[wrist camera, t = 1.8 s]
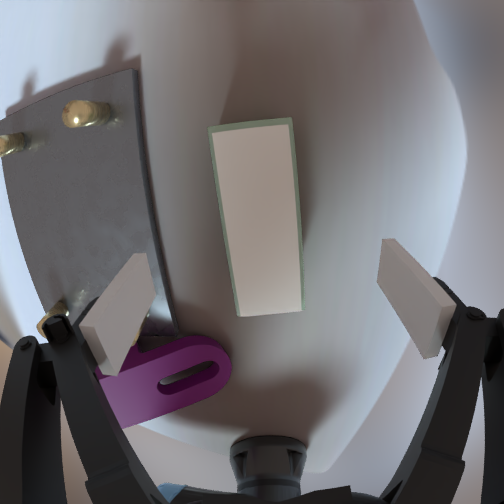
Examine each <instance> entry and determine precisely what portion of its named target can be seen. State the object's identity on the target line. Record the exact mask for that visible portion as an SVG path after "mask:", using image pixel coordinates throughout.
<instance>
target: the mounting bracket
mask: <svg viewBox="0 0 504 504" xmlns="http://www.w3.org/2000/svg"><path fill="white" fill-rule="evenodd" d="M205 361H214V362H213V364H212V365H211V367H209V368H208V369H206V370H203V371H201V372H198V373H196V374H194V375H191V376H189V377H186V378H184V379H181V380H179V381H176V382H174V383H171V384H168V385H163V384H160V382H159V381H160V380H161V379H163V378H165V377H168V376H170V375H173V374H175V373H178V372H180V371H183V370H185V369H188V368H190V367H193V366H195V365H197V364H200V363H202V362H205ZM231 370H232V366H231V361H230V359H229V357H228V355H227V354H226V352H225V351H224V349H223V348H222V346H221V345H220V344H219V343H218V342H217V341H215V340H214V339H212V338H209V337H206V336H196V335H195V336H187V337H183V338H180V339H178V340H175V341H173V342H170V343H168V344H165V345H163V346H160V347H158V348H155V349H152V350H150V351H147V352H145V353H142V351H141V349H140V347H139V345H138V344H137V342H136V343H135V345H134V346H131V347H130V349H129V351H128V353H127V355H126V358H125V360H124V362H123V364H122V366H121V369H120V371H119V373H118V375H117V376H112V375H104V374H102V372H101V370H100V368H99V366H98V365H97V367H96V369H95V373H96V375H97V377H98V379H99V381H100V384H101V386H102V388H103V391H104V393H105V395H106V397H107V400H108V402H109V404H110V406H111V408H112V410H113V412H114V414H115V416H116V418H117V420H118V422H119V424H120V426H121V428H122V429H123V428H126V427H130V426H133V425H136V424H139V423H142V422H145V421H148V420H151V419H154V418H156V417H159V416H162V415H165V414H167V413H170V412H173V411H175V410H178V409H181V408H183V407H186V406H188V405H191V404H193V403H196V402H198V401H201V400H203V399H206V398H208V397H210V396H212V395H214V394H215V393H217V392H218V391H219V390H221V389H222V388H223V387H224V385H225V384H226V383H227V381H228V380H229V377H230V375H231Z"/></svg>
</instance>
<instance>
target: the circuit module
mask: <svg viewBox="0 0 504 504" xmlns="http://www.w3.org/2000/svg"><path fill="white" fill-rule="evenodd" d="M207 130H208V138H209V145H210V152H211V158H212V165H213V172H214V179H215V185H216V192H217V198H218V205H219V211H220V217H221V224H222V230H223V236H224V242H225V248H226V254H227V260H228V266H229V272H230V277H231V283H232V289H233V295H234V300H235V306H236V311H237V316H241V317H246V316H257V315H268V314H278V313H288V312H297V311H302V310H305V292H304V267H303V246H302V229H301V214H300V199H299V187H298V174H297V163H296V152H295V142H294V132H293V123H292V117H288V118H276V119H265V120H255V121H246V122H238V123H231V124H224V125H217V126H210V127H207Z"/></svg>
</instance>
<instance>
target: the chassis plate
mask: <svg viewBox="0 0 504 504" xmlns="http://www.w3.org/2000/svg"><path fill="white" fill-rule="evenodd" d="M0 157H1V159H2V166H3V172H4V178H5V184H6V189H7V194H8V199H9V204H10V208H11V212H12V216H13V220H14V224H15V228H16V232H17V235H18V239H19V242H20V245H21V249H22V252H23V255H24V258H25V261H26V264H27V267H28V270H29V273H30V275H31V278H32V281H33V284H34V286H35V289H36V291H37V294H38V296H39V299H40V301H41V304H42V306H43V308H44V311H45V313H46V315H45V316H44V317H43V318H42V319H41V321H40V322H39V323H38V324H37V330H38V332H39V333H40V334H41V335H42V336H43V337H44V338H46V336H45V334H44V332H43V330H42V328H41V327H42V324H43V323H44V321H45V320H46V319H48V318H49V317H51V316H53V315H56V314H65V315H67V317H68V319H69V321H70V323H71V326H72V325H73V324H74V322H75V321H76V320H77V318H78V317H79V315H81V313H82V311H83V310H85V308H86V306H87V305H88V304H89V302H91V301H92V300H93V299H95V298H96V297H100V296H101V295H102V293H103V292H104V291H105V289H106V288H107V287H108V285H109V284H110V283H111V282H112V280H113V279H114V278H115V276H116V275H117V274H118V273H119V271H120V270H121V269H122V268H123V266H124V265H125V264H126V263H127V261H128V260H129V259H130V258H131V256H132V255H133V254H135V253H146V255H147V260H148V264H149V268H150V272H151V276H152V280H153V284H154V288H155V292H156V296H155V298H154V300H153V302H152V304H151V306H150V308H149V310H148V312H147V314H146V316H145V318H144V320H143V322H142V324H141V326H140V328H139V330H138V332H137V334H136V336H135V338H134V341H133V343H132V345H131V346H134V345H135V343H136V341H137V339H138V337H139V336H177V333H178V330H179V328H178V324H177V320H176V316H175V312H174V308H173V304H172V300H171V296H170V291H169V287H168V283H167V278H166V274H165V269H164V264H163V260H162V255H161V250H160V245H159V240H158V234H157V229H156V224H155V218H154V212H153V206H152V200H151V194H150V187H149V181H148V174H147V166H146V159H145V151H144V142H143V133H142V123H141V113H140V101H139V86H138V71H137V70H135V69H132V68H131V69H128V70H124V71H120V72H117V73H113V74H110V75H107V76H104V77H100V78H97V79H94V80H91V81H88V82H85V83H83V84H80V85H77V86H74V87H72V88H69V89H67V90H64V91H61V92H59V93H57V94H54V95H52V96H49V97H47V98H45V99H43V100H40V101H38V102H36V103H34V104H32V105H30V106H27V107H25V108H23V109H21V110H19V111H17V112H15V113H13V114H12V115H10V116H8V117H6V118H4V119H2V120H0Z"/></svg>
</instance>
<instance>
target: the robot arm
mask: <svg viewBox="0 0 504 504" xmlns="http://www.w3.org/2000/svg"><path fill="white" fill-rule="evenodd" d="M377 283H378V285H379V286H380V288H381V289H382V291H383V293H384V294H385V296H386V297H387V299H388V300H389V302H390V303H391V305H392V307H393V308H394V310H395V311H396V313H397V315H398V316H399V318H400V320H401V321H402V323H403V324H404V326H405V328H406V329H407V331H408V333H409V335H410V336H411V338H412V340H413V341H414V343H415V345H416V346H417V348H418V350H419V352H420V354H421V355H422V357H423V359H427V358H431V357H435V356H438V354H439V351H440V349H441V346H443V348H444V349H445V350H446V352H445V354H444V357H443V359H442V361H441V363H440V366H439V368H438V370H439V372H438V376H437V379H436V382H435V384H434V387H433V391H432V393H431V396H430V398H429V401H428V404H427V406H426V409H425V411H424V414H423V416H422V419H421V421H420V424H419V426H418V428H417V430H416V432H415V435H414V437H413V439H412V441H411V443H410V446H409V447H408V450H407V452H406V454H405V456H404V458H403V460H402V461H401V464H400V465H399V467H398V469H397V471H396V473H395V475H394V476H393V478H392V480H391V481H390V483H389V484H388V486H387V487H386V488H385V490H384V491H383V493H382V494H381V496H380V497H379V498H378V497H375V496H372V495H368V494H364V493H357V492H351V489H350V486H344V487H338V488H332V489H325V490H317V491H313V492H310V493H307V494H304V495H301V490H300V480H301V476H302V473H303V469H304V466H305V462H306V457H307V456H306V448H305V445H304V444H303V443H302V442H300V441H298V440H296V439H292V438H288V437H281V436H262V437H254V438H249V439H246V440H243V441H240V442H238V443H236V444H235V445H233V446H232V448H231V449H230V463H231V466H232V469H233V472H234V475H235V478H236V481H237V484H238V485H237V488H238V489H237V493H230V492H222V491H214V490H207V489H201V488H195V487H190V486H187V485H177V484H172V483H163V484H160V485H159V486H158V487H156V485H155V484H154V483H153V481H152V479H151V478H150V477H149V475H148V473H147V472H146V470H145V468H144V467H143V465H142V464H141V462H140V460H139V459H138V457H137V455H136V453H135V452H134V450H133V448H132V447H131V445H130V443H129V441H128V439H127V437H126V436H125V434H124V432H123V430H122V428H121V426H120V424H119V422H118V420H117V418H116V416H115V414H114V412H113V410H112V408H111V406H110V404H109V402H108V400H107V397H106V395H105V393H104V391H103V388H102V386H101V384H100V381H99V379H98V377H97V375H96V373H95V369H96V367H97V365H98V366H99V368H100V370H101V372H102V374H104V375H112V376H117V375H118V373H119V371H120V369H121V366H122V364H123V362H124V360H125V358H126V355H127V353H128V351H129V349H130V347H131V345H132V343H133V341H134V338H135V336H136V334H137V332H138V330H139V328H140V326H141V324H142V322H143V320H144V318H145V316H146V314H147V312H148V310H149V308H150V306H151V304H152V302H153V300H154V298H155V296H156V292H155V288H154V284H153V280H152V276H151V272H150V268H149V264H148V260H147V255H146V253H135V254H133V255H132V256H131V258H130V259H129V260H128V261H127V263H126V264H125V265H124V266H123V268H122V269H121V270H120V271H119V273H118V274H117V275H116V276H115V278H114V279H113V280H112V282H111V283H110V284H109V285H108V287H107V288H106V289H105V291H104V292H103V293H102V295H101V296H100V297H96V298H95V299H93V300H92V301H91V302H89V304H88V305H87V306H86V308H85V310H83V311H82V313H81V315H79V317H78V318H77V320H76V321H75V322H74V324H73V325H72V326H71V323H70V321H69V319H68V317H67V315H65V314H56V315H53V316H51V317H49V318H48V319H46V320H45V321H44V323H43V324H42V327H41V328H42V330H43V332H44V334H45V336H46V338H47V340H48V342H49V343H44V344H39V343H38V341H37V339H36V338H35V336H26V337H23V338H22V339H20V340H19V341H18V342H17V343H16V345H15V347H14V350H13V353H12V357H11V360H10V364H9V368H8V372H7V376H6V380H5V385H4V390H3V394H2V399H1V404H0V504H67V499H66V491H65V484H64V475H63V465H62V451H61V423H60V407H61V401H62V404H63V408H64V411H65V415H66V418H67V421H68V425H69V428H70V431H71V434H72V437H73V440H74V443H75V446H76V448H77V451H78V454H79V456H80V459H81V461H82V464H83V466H84V469H85V471H86V474H87V476H88V481H86V482H85V486H86V489H87V492H88V494H89V496H90V498H91V500H92V503H93V504H451V502H452V500H453V497H454V495H455V493H456V490H457V488H458V485H459V483H460V480H461V477H462V474H463V472H464V468H465V461H463V460H462V455H463V451H464V448H465V445H466V442H467V438H468V435H469V431H470V427H471V423H472V419H473V415H474V411H475V406H476V401H477V397H478V392H479V386H480V380H481V378H482V388H483V399H484V416H485V458H484V475H483V486H482V494H481V504H504V309H501V310H500V312H499V314H498V317H497V318H487V317H486V315H485V313H484V312H483V311H481V310H480V309H478V308H475V307H471V306H469V307H466V306H465V304H464V303H463V302H462V301H461V300H460V299H459V298H458V297H457V296H456V295H455V293H453V291H452V290H451V289H449V287H448V286H447V285H446V284H445V283H444V282H443V281H442V280H440V279H438V278H437V277H432V276H431V275H430V274H429V273H428V272H427V271H426V270H425V269H424V268H423V267H422V266H421V265H420V264H419V263H418V262H417V261H416V260H415V259H414V258H413V257H412V256H411V255H410V254H409V253H408V252H407V251H406V250H405V249H404V248H403V247H402V246H401V245H400V244H399V243H398V242H397V241H396V240H395V239H382V246H381V255H380V263H379V270H378V277H377Z"/></svg>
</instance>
